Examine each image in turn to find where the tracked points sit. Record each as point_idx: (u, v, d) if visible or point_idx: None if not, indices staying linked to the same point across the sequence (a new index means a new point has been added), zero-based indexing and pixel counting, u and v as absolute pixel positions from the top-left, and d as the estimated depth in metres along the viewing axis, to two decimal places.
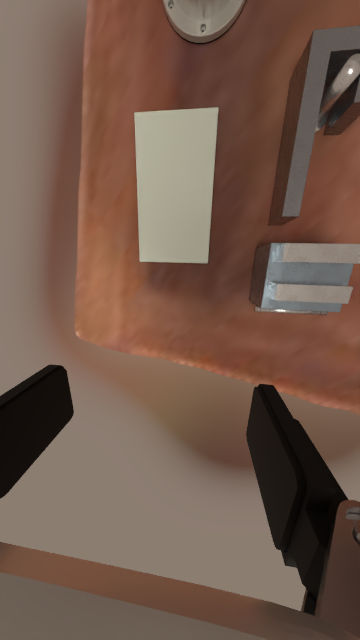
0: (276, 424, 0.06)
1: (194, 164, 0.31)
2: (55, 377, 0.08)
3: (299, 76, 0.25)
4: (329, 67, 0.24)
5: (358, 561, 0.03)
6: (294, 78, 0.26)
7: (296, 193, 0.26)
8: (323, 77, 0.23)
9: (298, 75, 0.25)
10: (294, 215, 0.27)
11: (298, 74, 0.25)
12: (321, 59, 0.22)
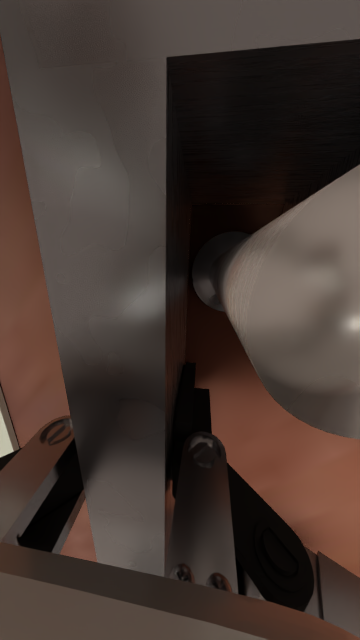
0: (179, 388, 0.07)
1: None
2: None
3: None
4: (227, 146, 0.04)
5: (194, 475, 0.04)
6: None
7: None
8: (150, 244, 0.03)
9: None
10: None
11: None
12: (106, 123, 0.03)
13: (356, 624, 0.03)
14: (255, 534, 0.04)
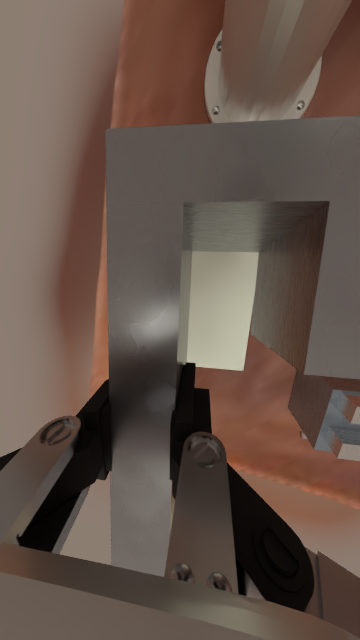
0: (179, 388, 0.07)
1: (234, 273, 0.27)
2: None
3: None
4: (215, 227, 0.07)
5: (194, 475, 0.04)
6: None
7: None
8: (172, 282, 0.06)
9: None
10: None
11: None
12: (153, 226, 0.05)
13: (357, 624, 0.03)
14: (255, 534, 0.04)
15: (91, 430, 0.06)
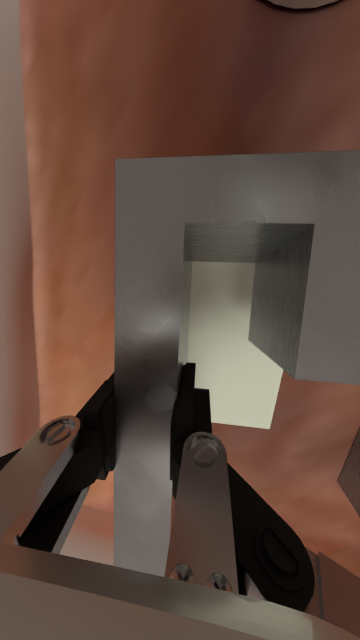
0: (179, 388, 0.07)
1: None
2: None
3: None
4: (213, 242, 0.08)
5: (194, 475, 0.04)
6: None
7: None
8: (173, 294, 0.06)
9: None
10: None
11: None
12: (157, 244, 0.06)
13: (357, 626, 0.03)
14: (256, 534, 0.04)
15: (91, 430, 0.06)
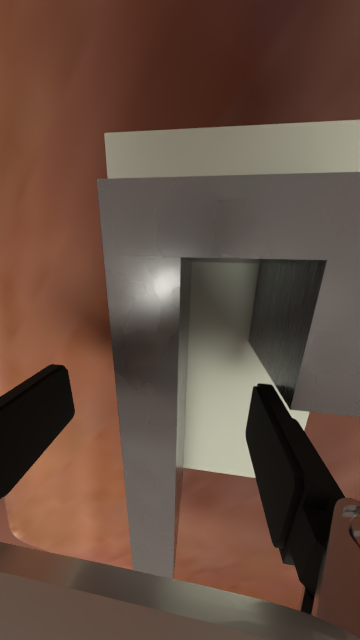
0: (274, 423, 0.06)
1: None
2: (56, 377, 0.08)
3: None
4: None
5: (355, 559, 0.03)
6: None
7: (156, 549, 0.10)
8: (171, 331, 0.06)
9: None
10: None
11: None
12: (151, 279, 0.06)
13: None
14: None
15: None
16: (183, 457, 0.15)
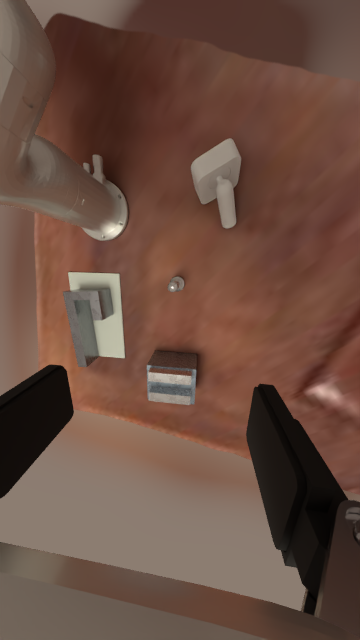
0: (276, 424, 0.06)
1: None
2: (55, 377, 0.08)
3: None
4: None
5: (358, 561, 0.03)
6: None
7: (81, 356, 0.47)
8: (74, 309, 0.43)
9: None
10: (84, 366, 0.48)
11: None
12: (70, 302, 0.43)
13: None
14: None
15: None
16: (97, 349, 0.52)
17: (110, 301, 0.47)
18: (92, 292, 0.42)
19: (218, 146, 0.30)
